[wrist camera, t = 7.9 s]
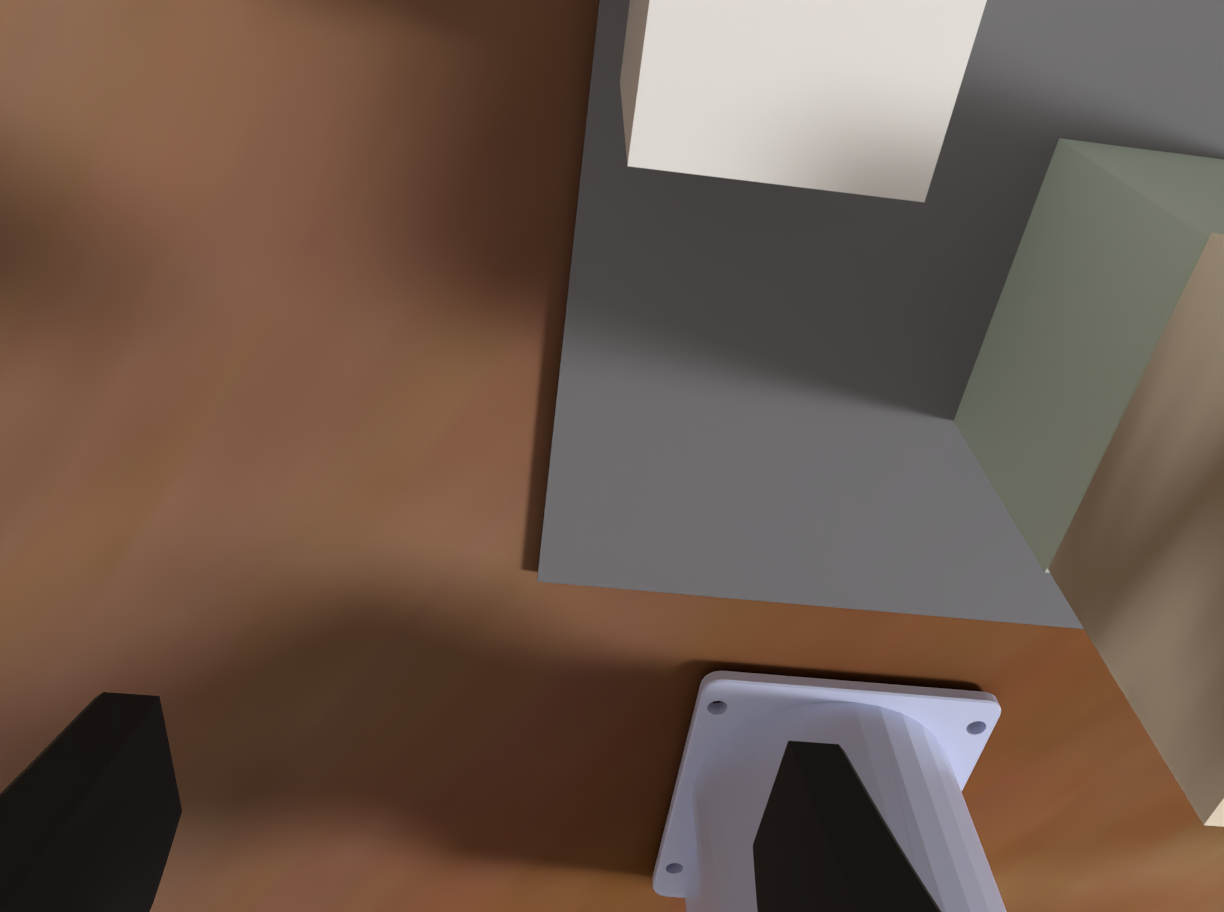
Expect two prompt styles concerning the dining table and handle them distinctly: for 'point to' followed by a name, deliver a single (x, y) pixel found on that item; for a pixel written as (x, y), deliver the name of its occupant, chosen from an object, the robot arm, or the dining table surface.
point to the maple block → (1164, 544)
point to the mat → (834, 334)
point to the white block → (796, 89)
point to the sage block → (1082, 321)
